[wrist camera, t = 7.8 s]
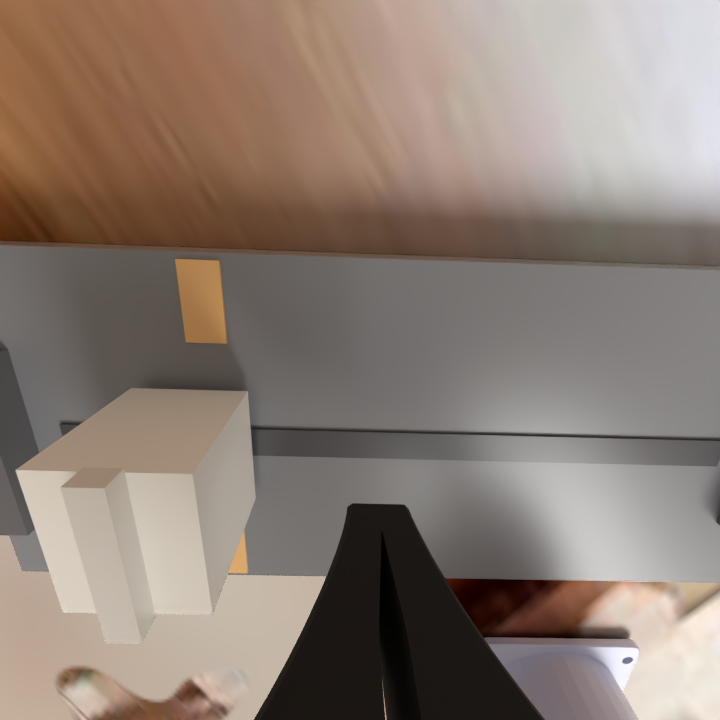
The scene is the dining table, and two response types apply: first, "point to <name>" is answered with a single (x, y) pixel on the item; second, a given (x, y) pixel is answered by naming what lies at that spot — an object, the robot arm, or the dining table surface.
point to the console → (398, 396)
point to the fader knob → (144, 506)
